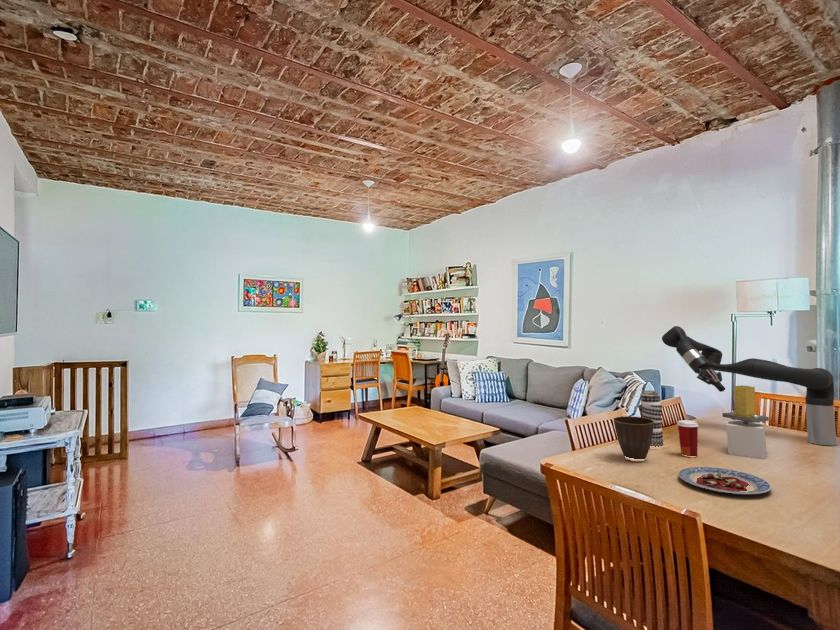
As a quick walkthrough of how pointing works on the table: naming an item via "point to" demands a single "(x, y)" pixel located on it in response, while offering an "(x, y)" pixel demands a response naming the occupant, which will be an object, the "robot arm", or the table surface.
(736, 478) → the ceramic plate
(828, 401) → the robot arm
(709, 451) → the table surface
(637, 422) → the plant pot
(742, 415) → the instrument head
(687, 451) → the paper cup
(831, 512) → the table surface
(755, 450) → the stand
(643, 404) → the grey striped cylinder
